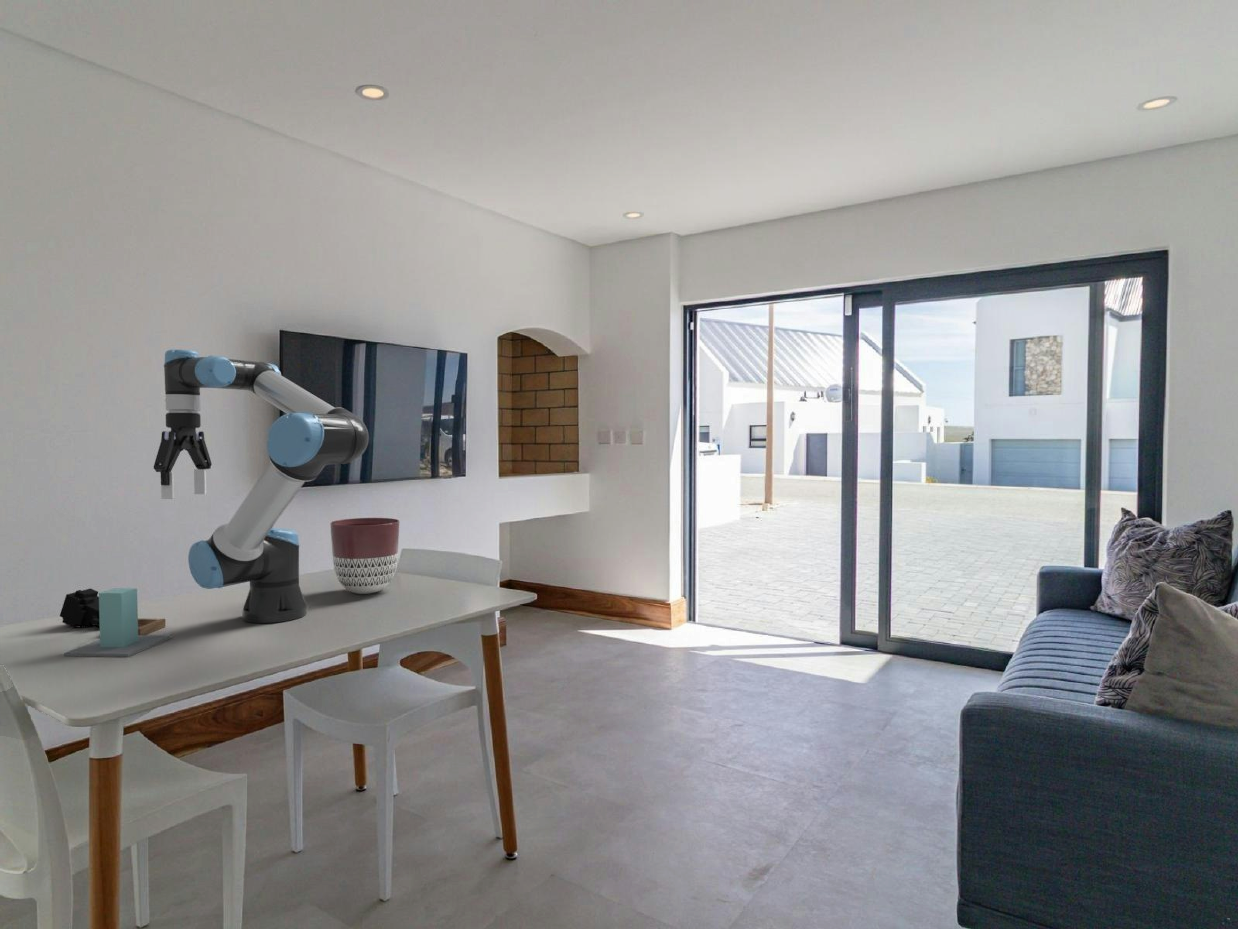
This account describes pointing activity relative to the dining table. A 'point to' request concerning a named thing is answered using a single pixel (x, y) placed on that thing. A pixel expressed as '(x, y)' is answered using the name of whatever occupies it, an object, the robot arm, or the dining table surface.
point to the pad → (126, 651)
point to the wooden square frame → (149, 625)
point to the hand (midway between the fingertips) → (184, 496)
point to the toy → (81, 609)
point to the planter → (365, 552)
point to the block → (118, 617)
